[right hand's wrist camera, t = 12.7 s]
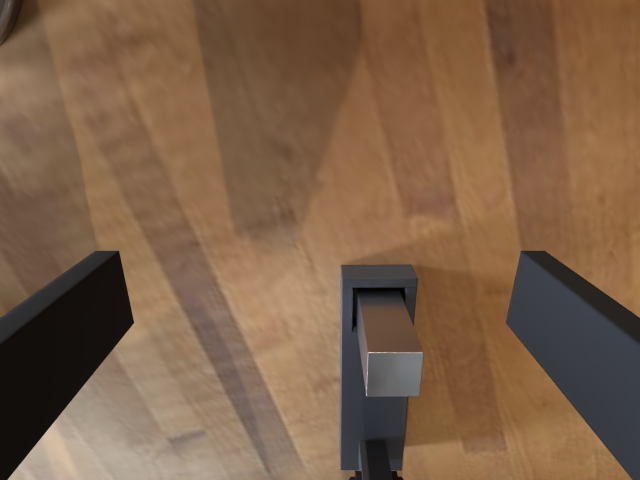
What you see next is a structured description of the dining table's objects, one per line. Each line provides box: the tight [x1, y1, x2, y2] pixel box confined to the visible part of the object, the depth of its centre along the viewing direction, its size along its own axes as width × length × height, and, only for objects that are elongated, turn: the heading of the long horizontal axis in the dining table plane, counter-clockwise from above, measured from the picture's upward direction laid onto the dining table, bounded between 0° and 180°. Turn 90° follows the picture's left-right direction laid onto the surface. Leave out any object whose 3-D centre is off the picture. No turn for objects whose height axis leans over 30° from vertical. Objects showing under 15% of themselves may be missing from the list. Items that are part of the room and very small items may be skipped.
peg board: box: [340, 265, 418, 480], centre depth 37 cm, size 24×7×11 cm, turn 1°
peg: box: [355, 287, 424, 397], centre depth 33 cm, size 4×4×12 cm
